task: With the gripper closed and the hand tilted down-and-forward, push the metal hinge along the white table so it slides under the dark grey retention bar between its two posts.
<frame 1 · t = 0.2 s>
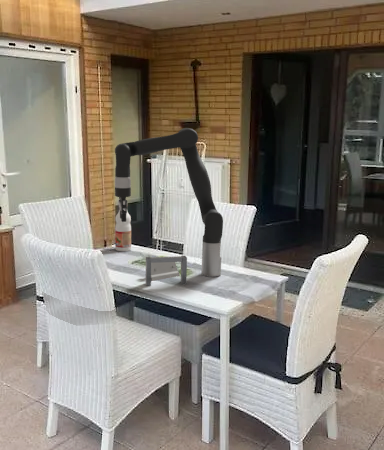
hand: (123, 219, 238), 29 cm above the table, tool pointing down, fingers open, 8 cm apart
hinge: (162, 277, 247), on the table
fruit juice: (123, 250, 297), on the table
retention bar: (165, 283, 236), on the table
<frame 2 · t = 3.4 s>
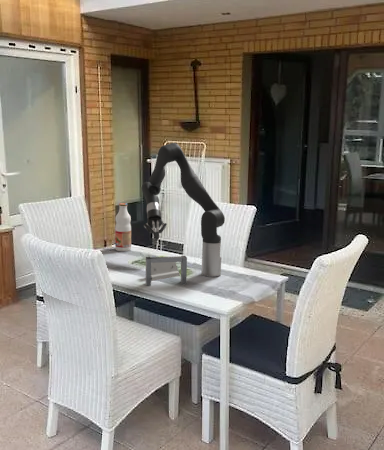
hand: (156, 239, 263), 14 cm above the table, tool tilted 45°, fingers closed
nothing on the table moved.
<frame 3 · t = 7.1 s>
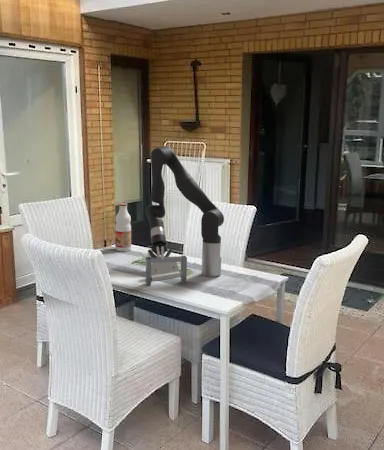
hand: (161, 266, 249), 4 cm above the table, tool tilted 45°, fingers closed
hinge: (163, 277, 246), on the table
everything else where it was.
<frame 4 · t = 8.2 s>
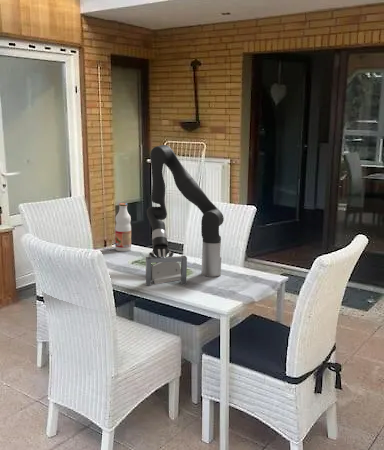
hand: (162, 269, 244), 4 cm above the table, tool tilted 45°, fingers closed
hinge: (165, 279, 242), on the table, touching gripper
everything else where it was.
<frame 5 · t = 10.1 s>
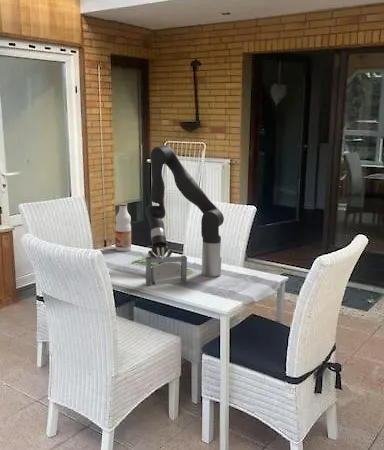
hand: (161, 267, 246), 4 cm above the table, tool tilted 45°, fingers closed
hinge: (166, 281, 241), on the table
everything else where it was.
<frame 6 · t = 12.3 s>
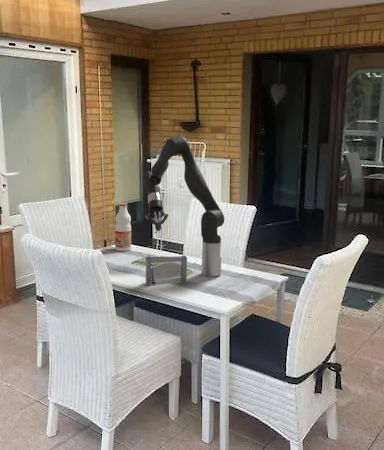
hand: (158, 230, 260), 20 cm above the table, tool tilted 45°, fingers closed
nothing on the table moved.
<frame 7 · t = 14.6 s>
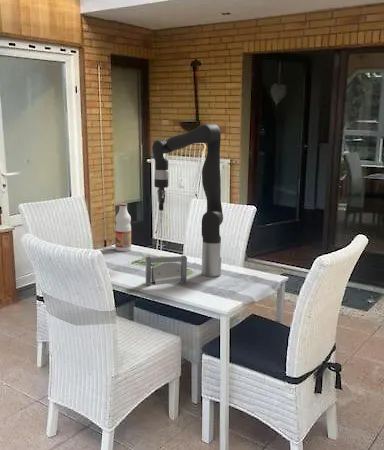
hand: (160, 210, 267), 29 cm above the table, tool pointing down, fingers closed
nothing on the table moved.
at the end: hinge inside the target area (3.9 cm from its centre), on the table; hinge moved 7.1 cm from its start; hinge tilted 2° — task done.
